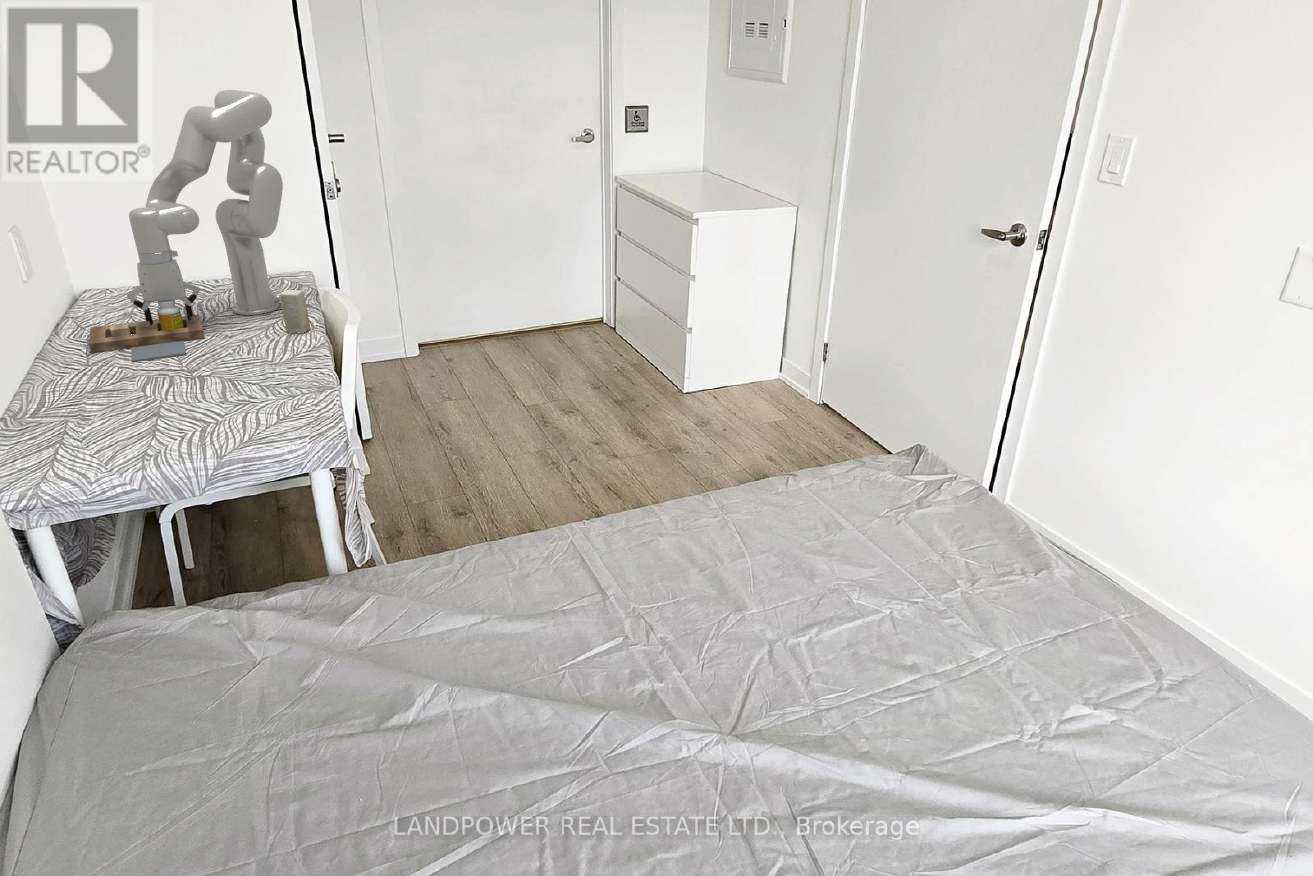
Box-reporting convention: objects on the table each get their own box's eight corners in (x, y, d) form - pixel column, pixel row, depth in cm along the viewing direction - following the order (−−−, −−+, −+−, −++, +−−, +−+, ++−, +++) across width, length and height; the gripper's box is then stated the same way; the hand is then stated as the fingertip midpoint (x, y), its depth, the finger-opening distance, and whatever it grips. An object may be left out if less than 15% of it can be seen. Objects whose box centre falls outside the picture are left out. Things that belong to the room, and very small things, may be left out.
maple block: (131, 337, 227) (128, 323, 226) (131, 342, 224) (128, 328, 222) (114, 339, 226) (110, 325, 224) (114, 344, 223) (110, 330, 221)
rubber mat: (184, 342, 225) (183, 340, 225) (186, 354, 217) (185, 352, 217) (132, 349, 220) (131, 347, 219) (132, 362, 212) (131, 360, 212)
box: (311, 328, 237) (304, 290, 232) (303, 334, 233) (297, 294, 228) (293, 327, 237) (286, 289, 232) (285, 333, 233) (278, 293, 228)
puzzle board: (201, 322, 239) (199, 314, 238) (204, 338, 228) (202, 329, 227) (92, 336, 227) (90, 327, 226) (91, 353, 216) (88, 344, 215)
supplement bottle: (178, 338, 228) (170, 302, 223) (158, 337, 228) (150, 302, 224) (189, 331, 233) (181, 296, 228) (169, 330, 233) (161, 296, 228)
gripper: (192, 250, 228) (205, 313, 235) (117, 257, 220) (133, 321, 228) (193, 257, 222) (207, 321, 229) (116, 264, 214) (133, 329, 222)
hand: (170, 321), depth 228 cm, fingers open, 8 cm apart
